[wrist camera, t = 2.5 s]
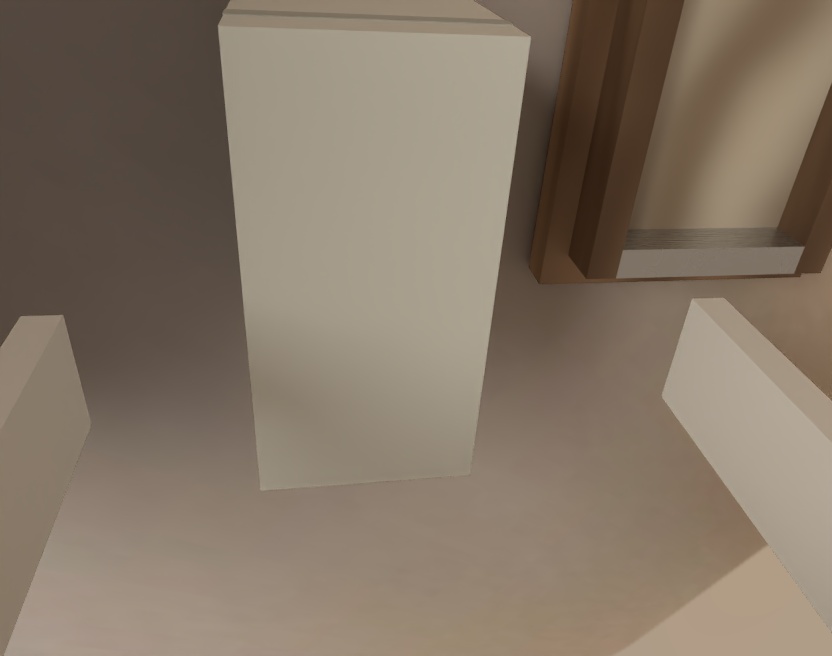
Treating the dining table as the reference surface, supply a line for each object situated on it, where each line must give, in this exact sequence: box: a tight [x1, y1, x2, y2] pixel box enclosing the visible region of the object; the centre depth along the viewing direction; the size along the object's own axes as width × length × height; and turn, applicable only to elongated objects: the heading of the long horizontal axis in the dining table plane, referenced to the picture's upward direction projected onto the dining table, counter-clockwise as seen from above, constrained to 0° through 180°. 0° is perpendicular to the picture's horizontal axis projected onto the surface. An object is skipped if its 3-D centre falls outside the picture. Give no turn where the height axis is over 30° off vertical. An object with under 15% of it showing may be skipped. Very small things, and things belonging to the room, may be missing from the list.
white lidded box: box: [218, 0, 531, 491], centre depth 21 cm, size 6×12×11 cm, turn 176°
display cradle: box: [529, 0, 832, 284], centre depth 23 cm, size 12×20×4 cm, turn 177°
